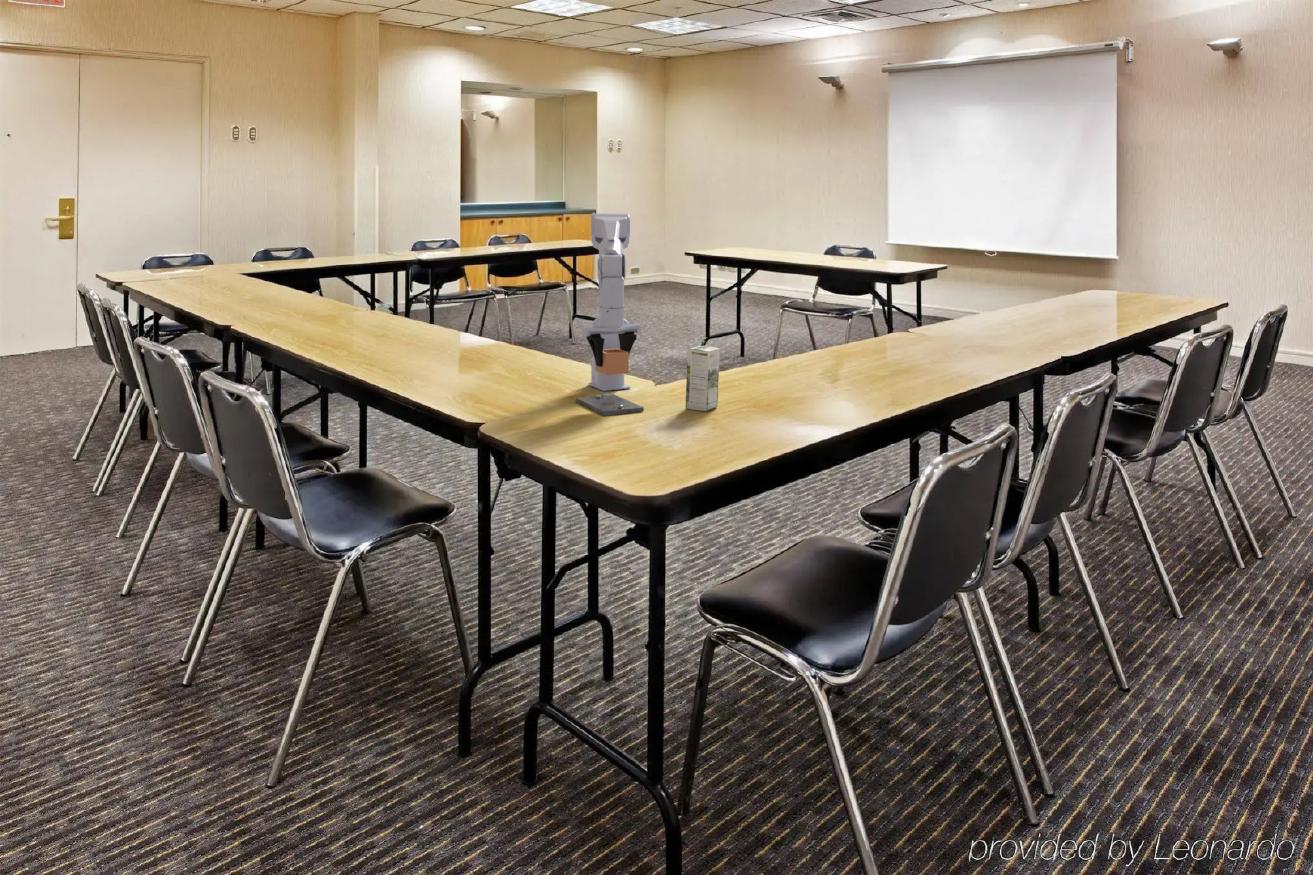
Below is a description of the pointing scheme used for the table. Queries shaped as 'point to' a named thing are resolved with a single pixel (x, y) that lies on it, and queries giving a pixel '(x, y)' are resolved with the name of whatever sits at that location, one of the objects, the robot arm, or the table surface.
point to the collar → (614, 362)
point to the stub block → (609, 404)
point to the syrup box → (702, 378)
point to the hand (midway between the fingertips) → (611, 365)
